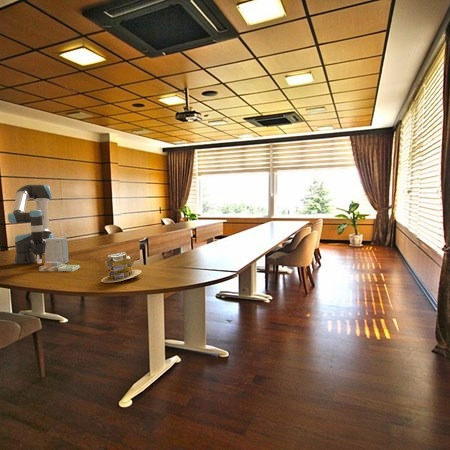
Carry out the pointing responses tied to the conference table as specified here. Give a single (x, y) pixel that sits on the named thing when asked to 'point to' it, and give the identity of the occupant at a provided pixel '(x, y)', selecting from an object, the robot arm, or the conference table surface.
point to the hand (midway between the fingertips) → (39, 263)
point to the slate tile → (55, 263)
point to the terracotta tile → (48, 263)
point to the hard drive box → (56, 250)
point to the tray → (69, 268)
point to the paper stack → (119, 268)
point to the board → (50, 268)
